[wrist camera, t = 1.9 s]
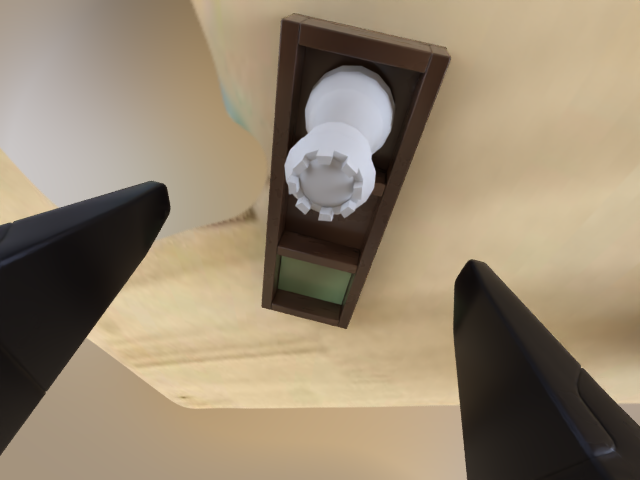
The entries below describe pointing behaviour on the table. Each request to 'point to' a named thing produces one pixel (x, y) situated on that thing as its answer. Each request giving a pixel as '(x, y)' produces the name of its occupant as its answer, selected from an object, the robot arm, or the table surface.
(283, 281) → the tray
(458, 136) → the table surface
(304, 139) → the rook chess piece
